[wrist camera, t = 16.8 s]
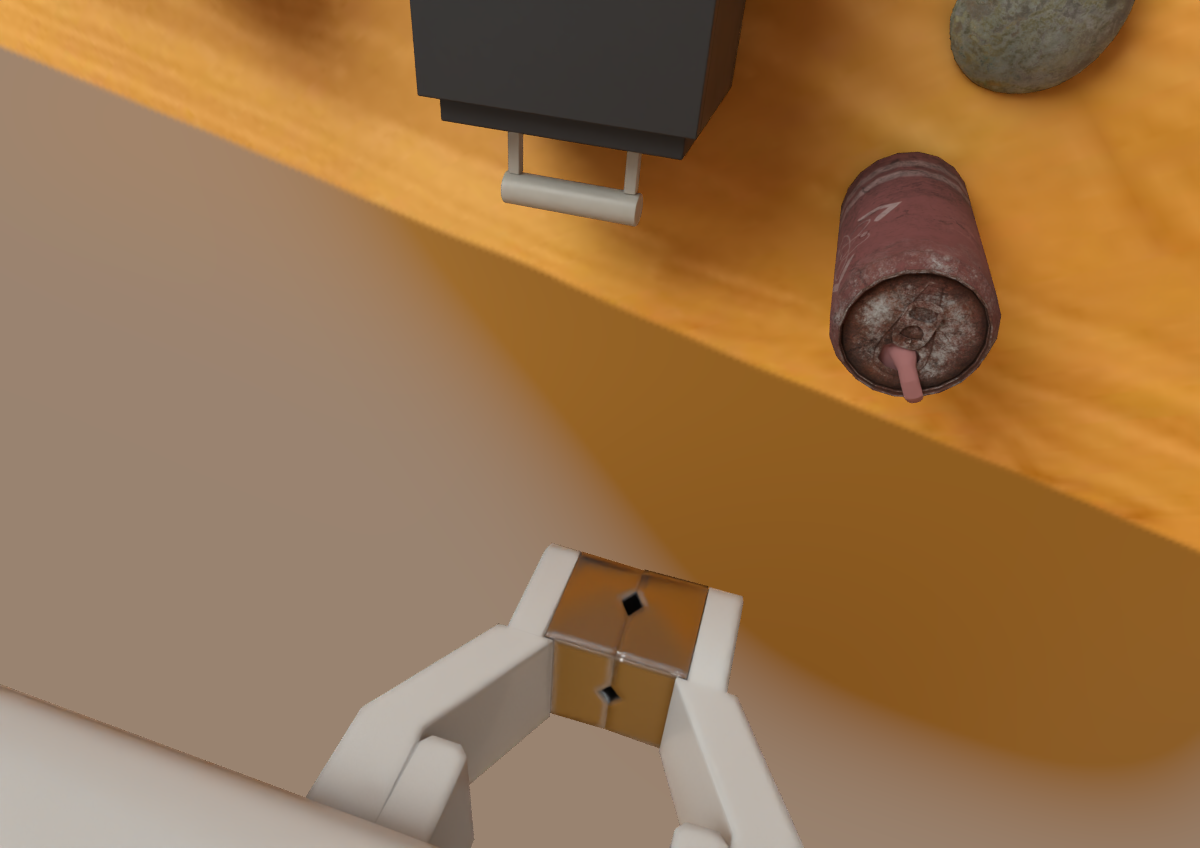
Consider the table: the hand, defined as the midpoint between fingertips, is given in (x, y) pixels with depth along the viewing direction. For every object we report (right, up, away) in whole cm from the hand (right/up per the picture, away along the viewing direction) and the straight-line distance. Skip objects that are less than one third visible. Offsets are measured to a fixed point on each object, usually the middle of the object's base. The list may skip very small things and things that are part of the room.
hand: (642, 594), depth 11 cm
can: (+15, +14, +27) cm, 34 cm away
